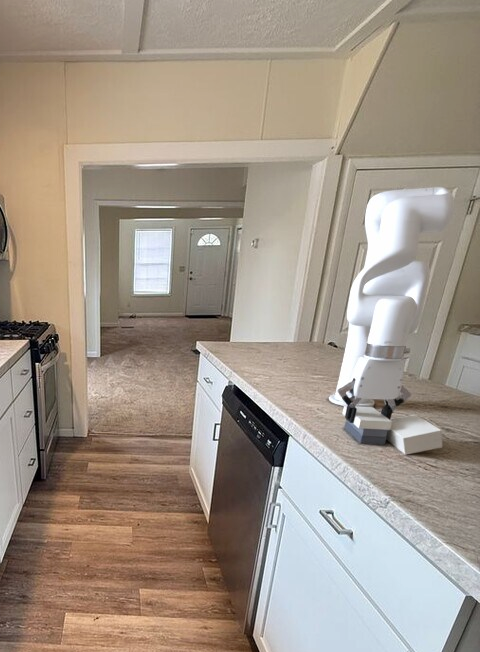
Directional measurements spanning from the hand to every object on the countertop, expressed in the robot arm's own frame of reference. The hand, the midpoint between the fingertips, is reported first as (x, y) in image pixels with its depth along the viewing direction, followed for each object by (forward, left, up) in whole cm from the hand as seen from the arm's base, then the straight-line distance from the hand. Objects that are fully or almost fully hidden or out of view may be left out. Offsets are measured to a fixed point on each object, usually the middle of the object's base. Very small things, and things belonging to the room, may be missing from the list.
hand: (366, 421), depth 102 cm
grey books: (-1, +1, -4) cm, 4 cm away
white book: (-1, 0, 0) cm, 1 cm away
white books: (+4, +9, -3) cm, 10 cm away
